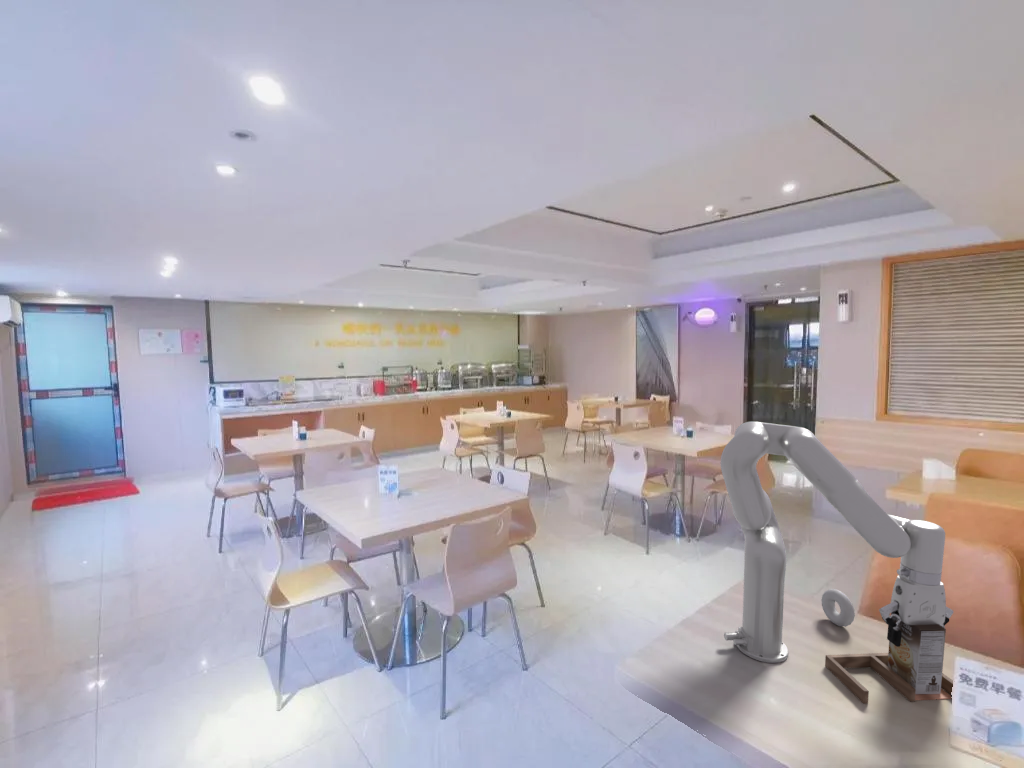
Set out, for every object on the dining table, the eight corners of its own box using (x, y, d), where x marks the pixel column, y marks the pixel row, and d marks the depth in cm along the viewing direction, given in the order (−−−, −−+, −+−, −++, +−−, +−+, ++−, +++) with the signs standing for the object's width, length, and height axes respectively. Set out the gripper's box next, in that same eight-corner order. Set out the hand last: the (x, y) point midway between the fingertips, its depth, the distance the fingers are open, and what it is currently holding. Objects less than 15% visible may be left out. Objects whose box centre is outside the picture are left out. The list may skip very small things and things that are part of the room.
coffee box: (885, 669, 124) (889, 607, 122) (911, 668, 124) (915, 607, 122) (915, 695, 115) (919, 628, 113) (942, 695, 115) (947, 628, 113)
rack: (863, 703, 112) (864, 691, 112) (825, 666, 125) (825, 655, 125) (961, 699, 113) (962, 687, 113) (912, 663, 126) (913, 651, 126)
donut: (857, 633, 139) (858, 598, 139) (846, 634, 139) (848, 600, 138) (827, 614, 149) (829, 582, 148) (817, 615, 148) (819, 583, 148)
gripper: (897, 582, 113) (890, 653, 114) (970, 581, 113) (962, 652, 115) (872, 567, 120) (866, 634, 122) (940, 566, 121) (933, 633, 123)
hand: (913, 642), depth 118 cm, fingers open, 9 cm apart
